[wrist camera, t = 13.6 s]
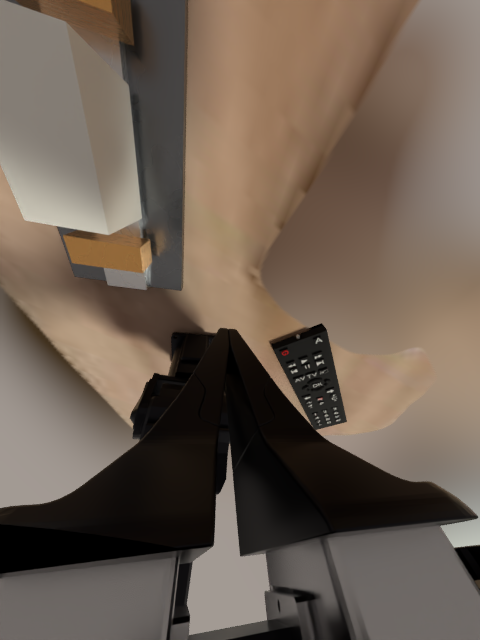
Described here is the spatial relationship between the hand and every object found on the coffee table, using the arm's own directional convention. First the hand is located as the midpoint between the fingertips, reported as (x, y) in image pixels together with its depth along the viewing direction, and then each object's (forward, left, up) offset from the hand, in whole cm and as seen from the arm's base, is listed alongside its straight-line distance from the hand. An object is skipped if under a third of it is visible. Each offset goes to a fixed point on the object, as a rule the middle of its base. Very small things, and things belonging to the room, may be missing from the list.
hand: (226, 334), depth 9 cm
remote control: (-22, -21, -13) cm, 33 cm away
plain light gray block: (+6, +9, -10) cm, 15 cm away
